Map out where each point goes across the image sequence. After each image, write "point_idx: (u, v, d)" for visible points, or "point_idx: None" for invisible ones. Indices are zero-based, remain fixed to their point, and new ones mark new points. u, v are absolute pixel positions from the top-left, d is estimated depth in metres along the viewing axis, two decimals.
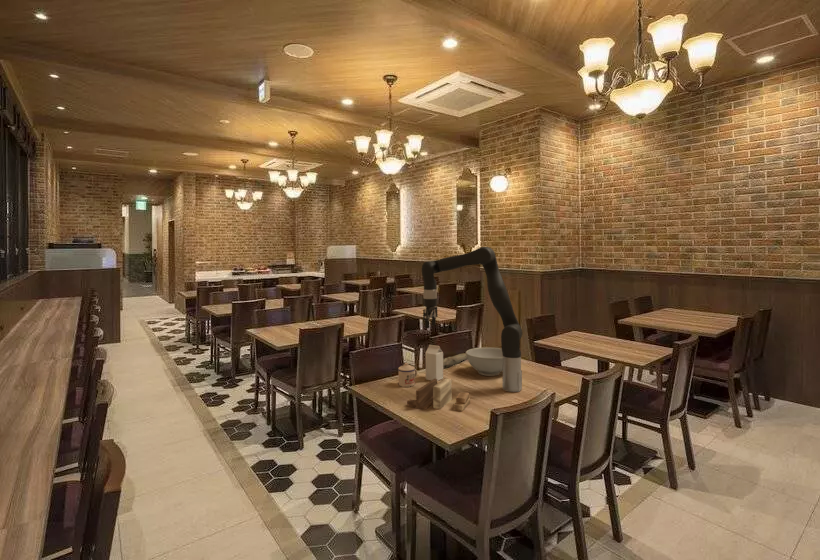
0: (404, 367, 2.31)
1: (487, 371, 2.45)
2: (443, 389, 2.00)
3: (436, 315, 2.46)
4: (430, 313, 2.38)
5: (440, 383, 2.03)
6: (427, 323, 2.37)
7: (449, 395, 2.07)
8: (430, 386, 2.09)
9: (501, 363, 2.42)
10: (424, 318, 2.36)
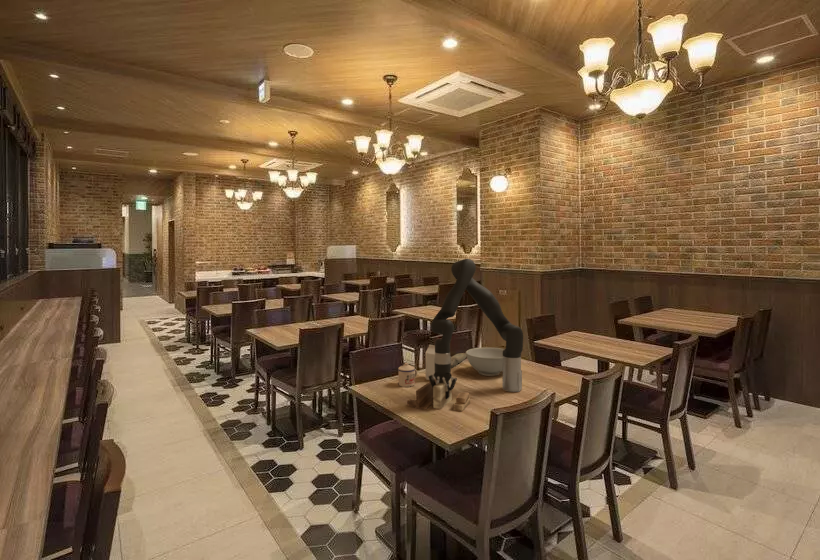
0: (404, 367, 2.31)
1: (487, 371, 2.45)
2: (443, 389, 2.00)
3: None
4: None
5: (440, 383, 2.03)
6: (449, 392, 2.03)
7: None
8: (430, 386, 2.09)
9: (501, 363, 2.42)
10: None
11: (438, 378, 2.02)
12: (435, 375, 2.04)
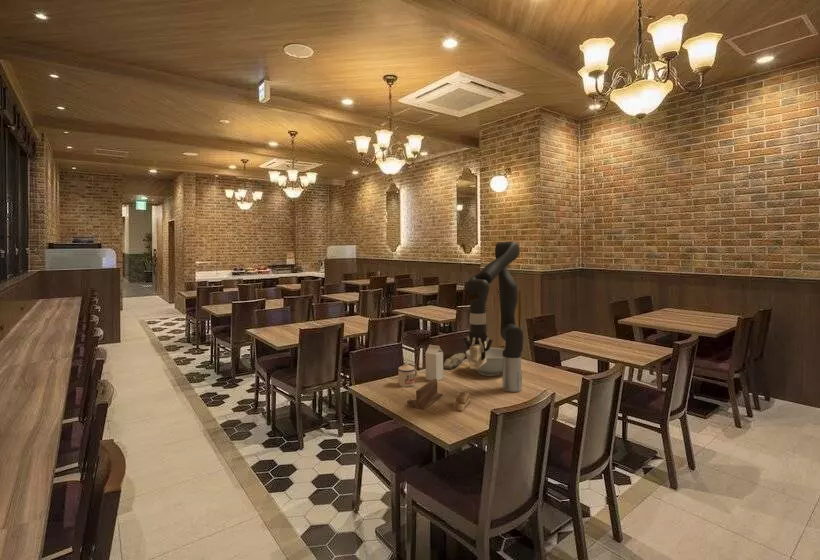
0: (404, 367, 2.31)
1: (487, 371, 2.45)
2: (479, 349, 1.98)
3: None
4: None
5: (476, 344, 2.01)
6: None
7: None
8: (430, 386, 2.09)
9: (501, 363, 2.42)
10: None
11: (474, 339, 2.01)
12: (470, 336, 2.02)
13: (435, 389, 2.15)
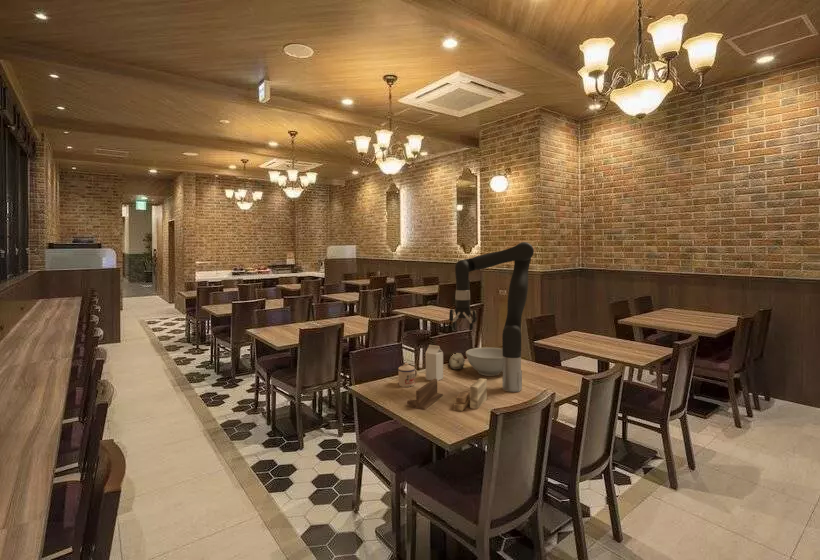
0: (404, 367, 2.31)
1: (487, 371, 2.45)
2: (479, 389, 1.99)
3: None
4: None
5: (476, 383, 2.02)
6: None
7: (484, 395, 2.07)
8: (430, 386, 2.09)
9: (501, 363, 2.42)
10: None
11: (458, 313, 2.26)
12: (456, 311, 2.27)
13: (435, 389, 2.15)
